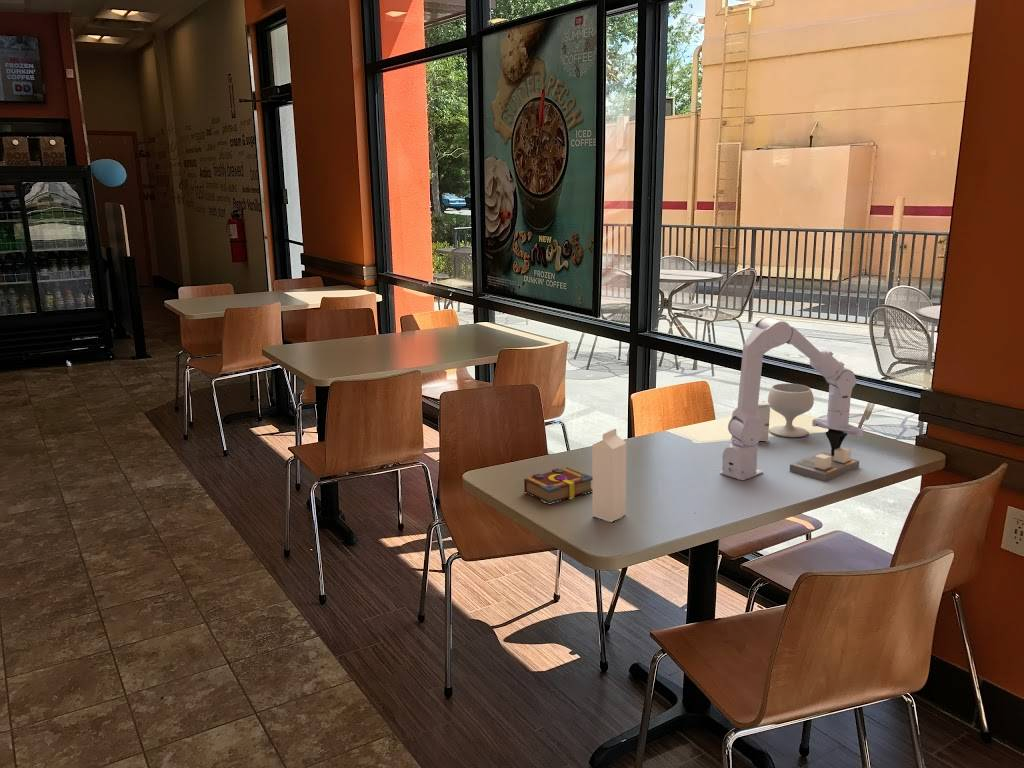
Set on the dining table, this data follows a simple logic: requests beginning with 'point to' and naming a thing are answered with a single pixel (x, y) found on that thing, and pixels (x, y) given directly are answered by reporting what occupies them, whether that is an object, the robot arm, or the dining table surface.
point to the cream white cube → (822, 461)
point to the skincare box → (764, 418)
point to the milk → (609, 477)
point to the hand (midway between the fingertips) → (835, 455)
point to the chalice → (790, 407)
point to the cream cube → (842, 455)
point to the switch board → (809, 470)
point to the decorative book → (558, 485)
